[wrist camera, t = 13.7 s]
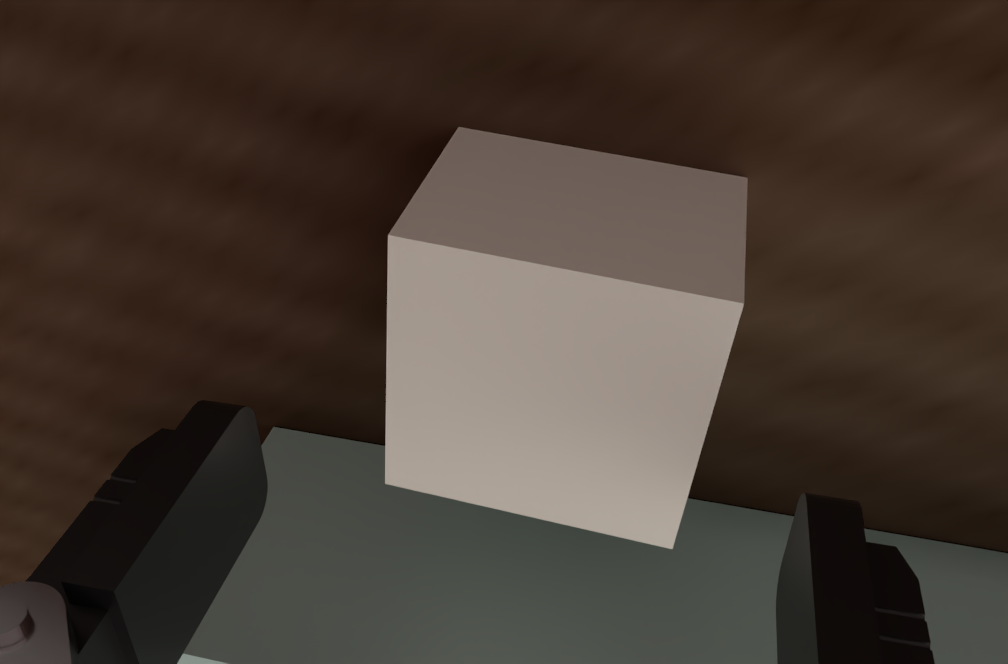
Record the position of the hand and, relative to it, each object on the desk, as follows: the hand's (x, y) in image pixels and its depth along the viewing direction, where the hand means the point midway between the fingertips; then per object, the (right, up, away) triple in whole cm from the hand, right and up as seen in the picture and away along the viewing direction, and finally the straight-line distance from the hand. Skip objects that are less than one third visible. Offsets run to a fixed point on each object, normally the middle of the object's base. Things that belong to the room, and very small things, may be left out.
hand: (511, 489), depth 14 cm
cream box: (+1, +3, +4) cm, 5 cm away
